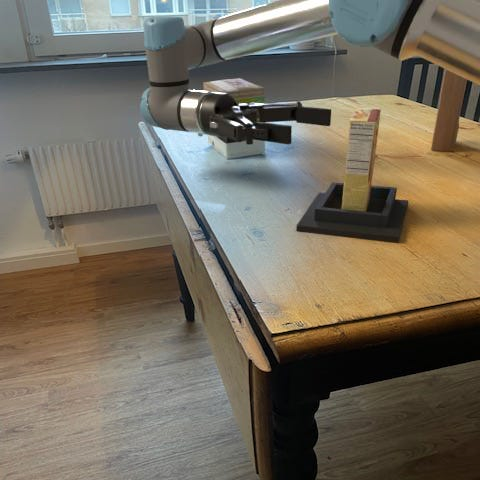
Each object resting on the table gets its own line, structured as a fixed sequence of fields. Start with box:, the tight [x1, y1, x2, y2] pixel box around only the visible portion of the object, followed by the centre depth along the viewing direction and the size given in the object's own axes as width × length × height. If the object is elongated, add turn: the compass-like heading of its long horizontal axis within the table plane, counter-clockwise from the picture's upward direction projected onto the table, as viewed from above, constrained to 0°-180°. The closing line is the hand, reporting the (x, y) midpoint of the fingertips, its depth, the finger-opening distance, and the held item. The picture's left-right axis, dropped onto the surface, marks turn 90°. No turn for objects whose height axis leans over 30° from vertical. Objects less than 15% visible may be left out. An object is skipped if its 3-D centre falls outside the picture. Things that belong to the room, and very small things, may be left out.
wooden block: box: [430, 68, 468, 153], centre depth 113 cm, size 9×4×18 cm, turn 154°
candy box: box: [341, 107, 381, 212], centre depth 81 cm, size 9×4×15 cm, turn 163°
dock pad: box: [295, 181, 409, 244], centre depth 84 cm, size 16×16×3 cm
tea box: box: [202, 77, 266, 160], centre depth 118 cm, size 15×10×15 cm, turn 21°
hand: (311, 126), depth 83 cm, fingers open, 13 cm apart
